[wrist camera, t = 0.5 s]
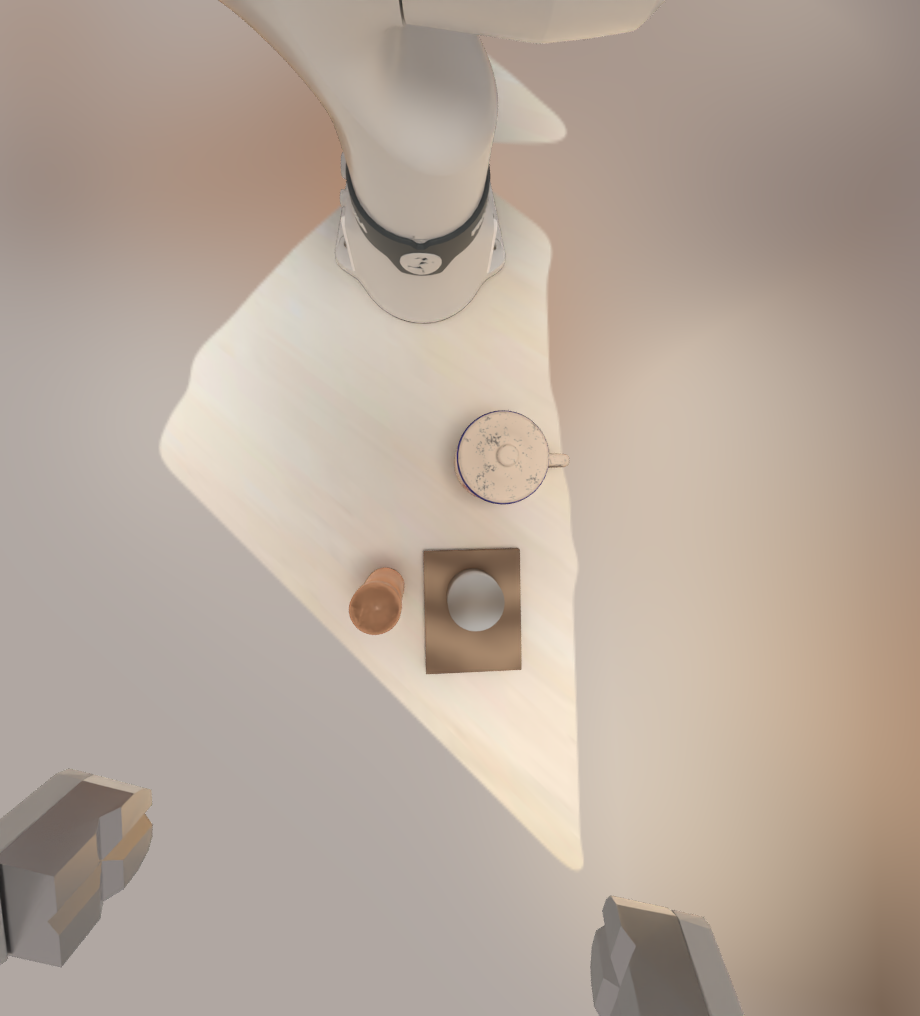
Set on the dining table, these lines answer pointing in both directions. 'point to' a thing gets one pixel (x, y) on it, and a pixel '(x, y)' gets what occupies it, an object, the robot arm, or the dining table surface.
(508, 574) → the stud board
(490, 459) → the teacup with lid
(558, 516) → the dining table surface
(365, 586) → the peach lidded canister
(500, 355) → the dining table surface
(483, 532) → the dining table surface
